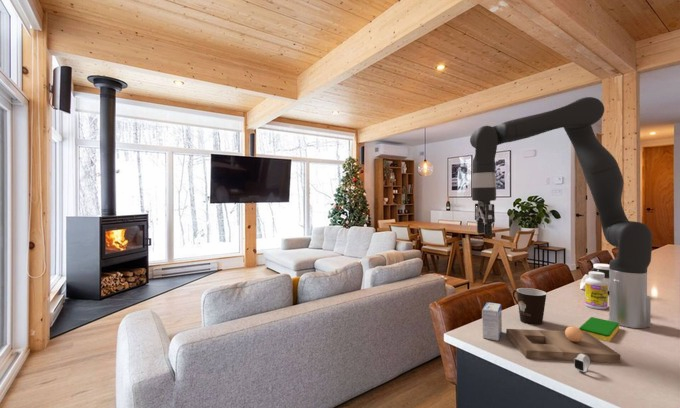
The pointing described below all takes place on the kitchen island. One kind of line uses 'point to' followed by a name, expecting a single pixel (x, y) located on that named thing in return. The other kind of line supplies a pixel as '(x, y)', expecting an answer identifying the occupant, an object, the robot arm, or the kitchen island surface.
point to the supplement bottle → (596, 291)
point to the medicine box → (492, 321)
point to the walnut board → (560, 346)
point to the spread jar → (597, 268)
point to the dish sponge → (600, 328)
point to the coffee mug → (530, 305)
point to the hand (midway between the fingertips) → (484, 234)
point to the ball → (574, 334)
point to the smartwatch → (582, 362)
